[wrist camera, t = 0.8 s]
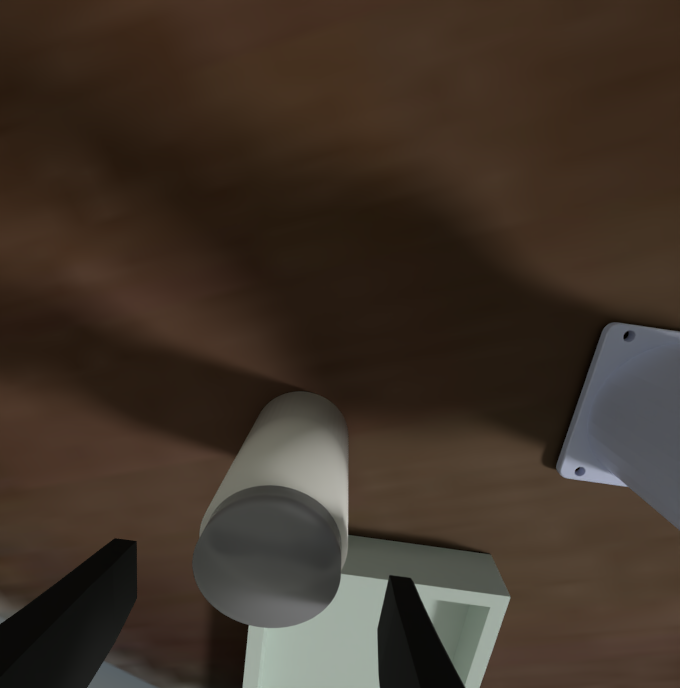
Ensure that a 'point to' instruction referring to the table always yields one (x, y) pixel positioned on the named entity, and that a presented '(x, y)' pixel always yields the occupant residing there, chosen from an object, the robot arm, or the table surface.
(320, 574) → the shaker
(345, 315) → the table surface
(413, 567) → the tray
